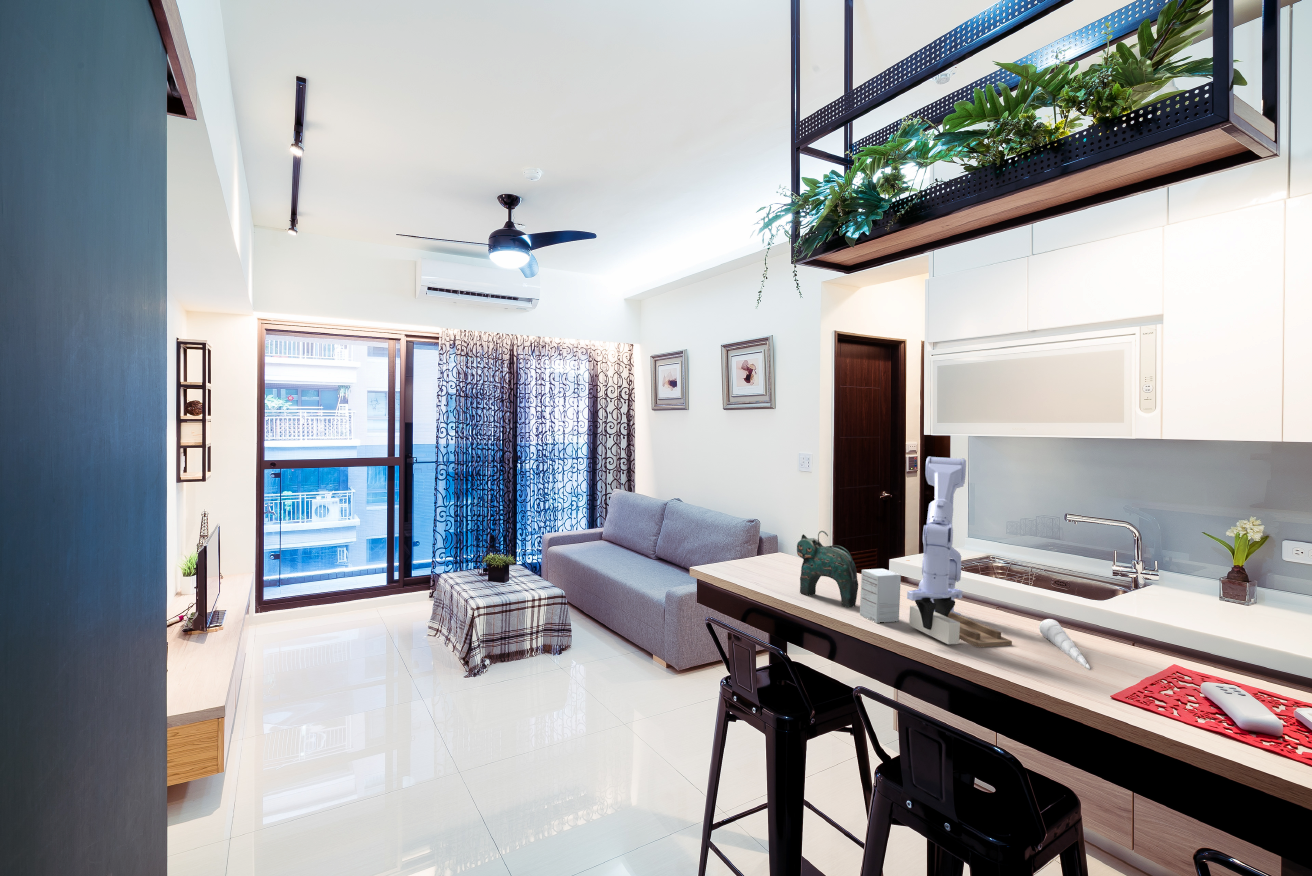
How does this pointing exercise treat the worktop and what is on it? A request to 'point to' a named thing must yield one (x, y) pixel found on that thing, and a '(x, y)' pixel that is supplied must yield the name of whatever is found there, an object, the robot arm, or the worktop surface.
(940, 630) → the white rectangular block
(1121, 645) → the worktop surface
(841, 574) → the ceramic cat
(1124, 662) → the worktop surface
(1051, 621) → the unicorn horn
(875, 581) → the supplement box
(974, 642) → the railed tan base plate
